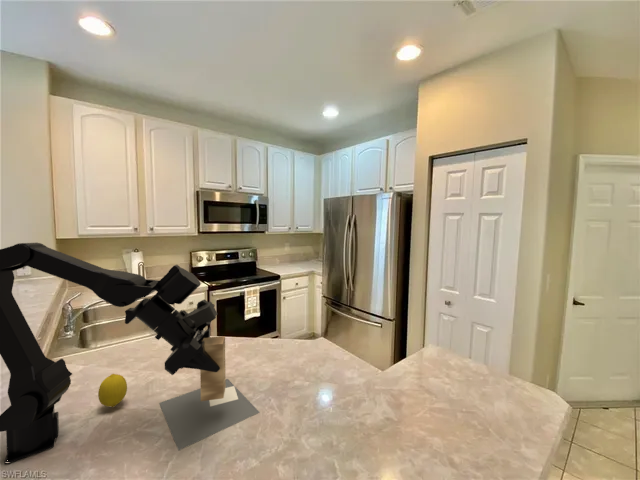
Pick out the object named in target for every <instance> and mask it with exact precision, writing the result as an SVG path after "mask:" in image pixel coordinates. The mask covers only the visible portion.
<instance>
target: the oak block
mask: <svg viewBox="0 0 640 480" xmlns="http://www.w3.org/2000/svg"><path fill="white" fill-rule="evenodd" d="M203 341H204V346H205V351H206V352H207V353H208V354H209V355H210V357H211V358H212V359H213V360H214V361H215V362H216V363H217V364H218V366H219V367H220V369H219V371H218V372H211V371H205V370H199V371H200V372H199V373H200V379H199V380H200V388H201V401H207V400H214V399H222V398H224V393H225V387H226V379H227V378H226V336H225V335H224V336H223V335H222V336H210V337H208V338H204V339H203ZM203 341H202V342H203Z"/></svg>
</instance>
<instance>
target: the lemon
mask: <svg viewBox="0 0 640 480" xmlns="http://www.w3.org/2000/svg"><path fill="white" fill-rule="evenodd" d="M127 391H128V384H127V380H126V378H125V377H124V376H123V375H122V374H121V375H120V374H117V373H111V374H110V375H108V376H107V377H106V378H104V379H103V381H102V382H101V383H100V385H99V387H98V393H97V395H98V400H99V403H100V404H101V405H102V406H104V407H108V408H109V407H111V408H115V407H116V406H117V405H118V404H120V403H121V402H122V401H123V400H124V398H125V397H126V394H127Z"/></svg>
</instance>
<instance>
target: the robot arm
mask: <svg viewBox="0 0 640 480" xmlns="http://www.w3.org/2000/svg"><path fill="white" fill-rule="evenodd" d="M25 267H29V268H31V269H34V270H38V271H40V272H43V273H45V274H49V275H52V276H54V277H57V278H59V279H62V280H65V281H68V282H71V283H73V284H76V285H79V286H82V287H85V288H87V289H89V290H91V291H92V292H93V293H94V294H95V295H96V296H97V297H98V298H99V299H101V300H102V301H105V302H107V303H108V304H110V305H112V306H114V307H117V308H124V307H127V306H130V305H132V304H135V302H138V301H139V300H140V301H139V303H137V305H136V306H135V307H129V308H127V309H126V310H124V313H125V318H124V324H126V325H128V324H130V323H131V322H133V321H134V320H136V319H138V320H139V321H140V322H141V323H143V324H144V325H146V326H147V327H148V328H149V329H150V330H152V331H153V332H154V333H155V334H156V335H155V336H154V338H155V339H156V340H157V341H159V340H160V339H163V340H164V341H166V343H168V344H169V345H170V346H171V348H170V351H171V353H170V354H169V355H168V357H167V358H166V360H165V361H164V370H165V371H166V372H167V373H169V374H170V375H171V376H173V375H175V374H176V373H177V372H178V371H179V370H182V369H184V368H186V369H193V370H199V371H200V370H205V371H211V372H218V371H219V369H220V367H219V366H218V364H217V363H216V362H215V361H214V360H213V359H212V358H211V357H210V355H209V354H208V353H207V352H206V351H205V346H204V341H203V339H204V338H208V337H211V330H212V329H211V327H210V325H211V323H212V321H214V320H216V318H217V316H218V312H217V310H216V308H215V304H214V303H213V302H212V301H207V299H202V300H199V301H198V302H197V304H196V308H194V309H193V310H192V311H190V312H187V311H186V310H182V309H181V310H180V311H178V309H176V308H175V307H173V306H174V305H175V304H177V305H181V304H182V303H184V301H186V300H187V299H188V298H189V297H190V296H191V295H192V294H193V293H194V292H195V291H196V290H197V289H198V288H199V287H200V286H201V281H200V280H199V279H198V277H197V276H196V275H194V273H192V272H191V271H188V270H187V269H185V268H182V267H180V266H179V265H178V264H175V265H173V266H172V267H170V269H169V270H168V272H167V273H165V275H163V277H162V278H161V279H160V280H159V279H147V278H146V277H145V276H142V275H141V274H137V273H133V272H127V271H124V270H123V271H122V270H115V269H108V268H103V267H101V266H98V265H95V264H94V263H93V264H92V263H90V262H87V261H85V260H82V259H80V258H77V257H74V256H72V255H69V254H66V253H63V252H60V251H58V250H56V249H53V248H51V247H48V246H46V245H45V244H43V243H41V242H22V243H21V242H20V243H19V242H18V243H16V244H14V245H11V246H7V247H4V248H1V249H0V357H1V358H2V360H3V362H4V364H5V365H6V367H7V370H8V371H9V374H10V375H9V376H10V377H9V382H8V388H7V396H8V400H9V402H10V403H9V404H10V406H9V407H7V408H6V409H5V410H4V411H3V412H2V413H1V414H0V433H1V432H5V433H6V434H5V439H6V455H5V458H4V461H3V462H11V463H13V462H16V461H19V460H21V459H24V458H27V457H30V456H33V455H35V454H38V453H41V452H43V451H46V450H49V449H52V448H54V447H55V442H56V439H57V438H59V432H60V422H59V421H60V419H59V417H60V416H59V411H55V405H56V404H57V403H59V402H60V401H61V399H62V396H63V395H65V393H66V392H67V391H68V390H69V388H70V386H71V384H72V380H71V379H72V378H71V376H72V375H73V373H72V372H71V370H70V371H69V369H68V368H67V365H66V360H64V358H60V359H59V360H56V361H54V360H52V359H50V358H48V357H47V356H46V355H45V353H44V352H43V350H42V348H41V346H40V343H39V342H38V341H37V339H36V336H35V335H34V333H33V331H32V329H31V327H30V325H29V324H28V320H27V319H26V318H25V316H24V314H23V312H22V310H21V308H20V307H19V304H18V302H17V300H16V298H15V297H14V295H13V287H14V284H15V283H14V281H15V274H14V272H15V271H17V270H20V269H23V268H25ZM154 292H156V293H155V294H154V295H152V297H151V298H146V297H147V296H149V295H151V294H153V293H154ZM142 298H143V299H142ZM141 299H142V300H141ZM206 327H208V328H207V329H206V330H205V328H206ZM202 341H203V342H202ZM7 460H8V461H7Z"/></svg>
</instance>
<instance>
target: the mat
mask: <svg viewBox="0 0 640 480" xmlns="http://www.w3.org/2000/svg"><path fill="white" fill-rule="evenodd" d="M225 379H226V387H225V393H224V398H222V399H214V400H207V401H201V387H199V388H196V389H195V390H191V391H189V392H186V393H184V394H181V395H178V396H175V397H173V398H170V399H167V400H163V401H160V402H159V403H158V404H159V407H160V409H161V411H162V414H163V416H164V418H165V422H166V423H167V427H168V428H169V431H170V434H171V437H172V438H173V441H174V443H175V446H176V448H177V450H178V451H181V450H183V449H185V448H187V447H189V446H192V445H194V444H196V443H198V442H200V441H202V440H204V439H207V438H208V437H210V436H213V435H215V434H218V433H220V432H221V431H224V430H226V429H228V428H230V427H232V426H235V425H236V424H238V423H240V422H243V421H245V420H247V419H249V418H251V417H253V416H255V415H258V414H260V411H259V409H257V408H256V407H255V406H254V405H253V404H252V402H251V401H250V400H249V399H248V398H247V397H246V396H245V395H244V394H243V393H242V392H241V390H239V389H238V388H237V387H236V386H235V385H234V384H233V382H232V381H230V379H229V378H225Z"/></svg>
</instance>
